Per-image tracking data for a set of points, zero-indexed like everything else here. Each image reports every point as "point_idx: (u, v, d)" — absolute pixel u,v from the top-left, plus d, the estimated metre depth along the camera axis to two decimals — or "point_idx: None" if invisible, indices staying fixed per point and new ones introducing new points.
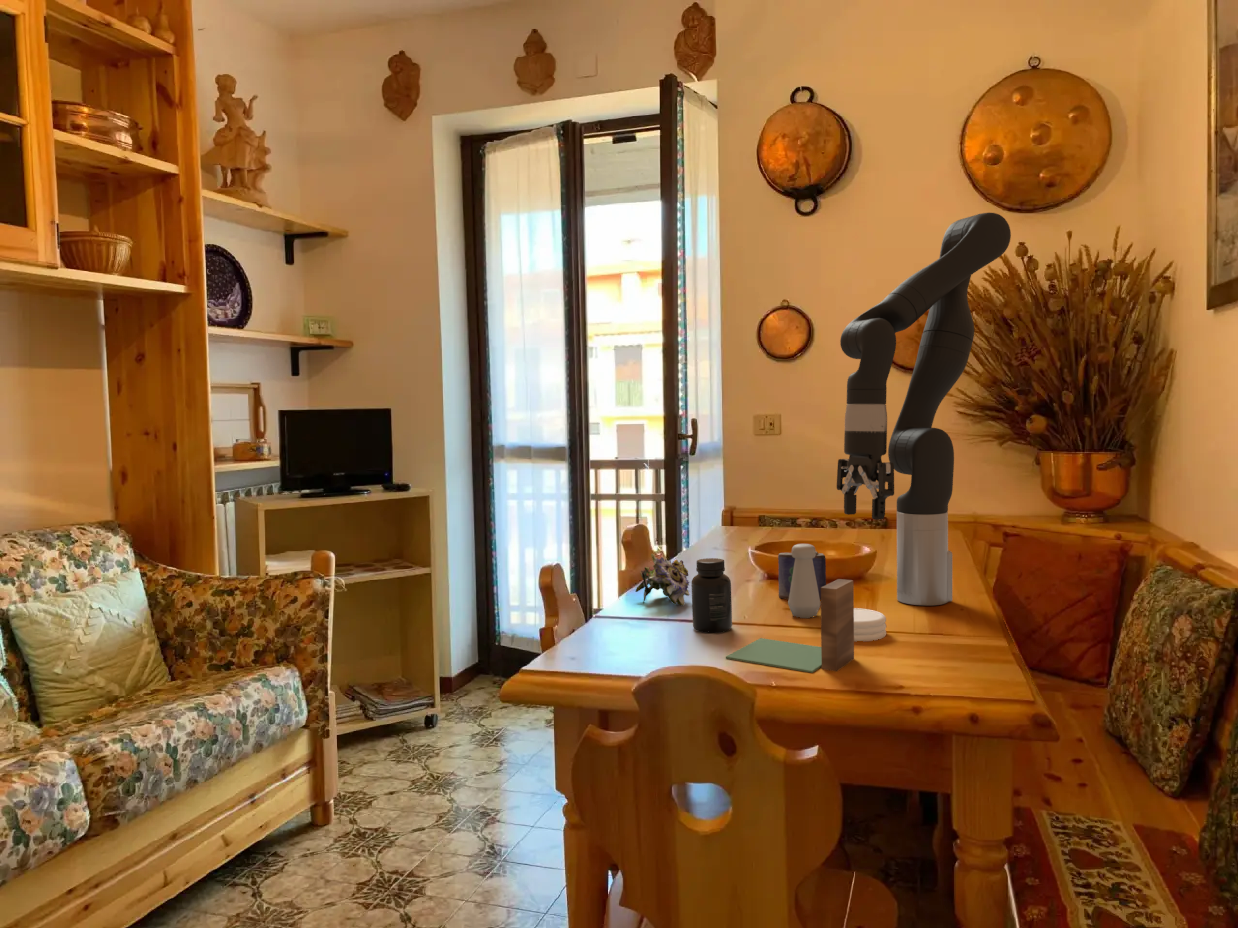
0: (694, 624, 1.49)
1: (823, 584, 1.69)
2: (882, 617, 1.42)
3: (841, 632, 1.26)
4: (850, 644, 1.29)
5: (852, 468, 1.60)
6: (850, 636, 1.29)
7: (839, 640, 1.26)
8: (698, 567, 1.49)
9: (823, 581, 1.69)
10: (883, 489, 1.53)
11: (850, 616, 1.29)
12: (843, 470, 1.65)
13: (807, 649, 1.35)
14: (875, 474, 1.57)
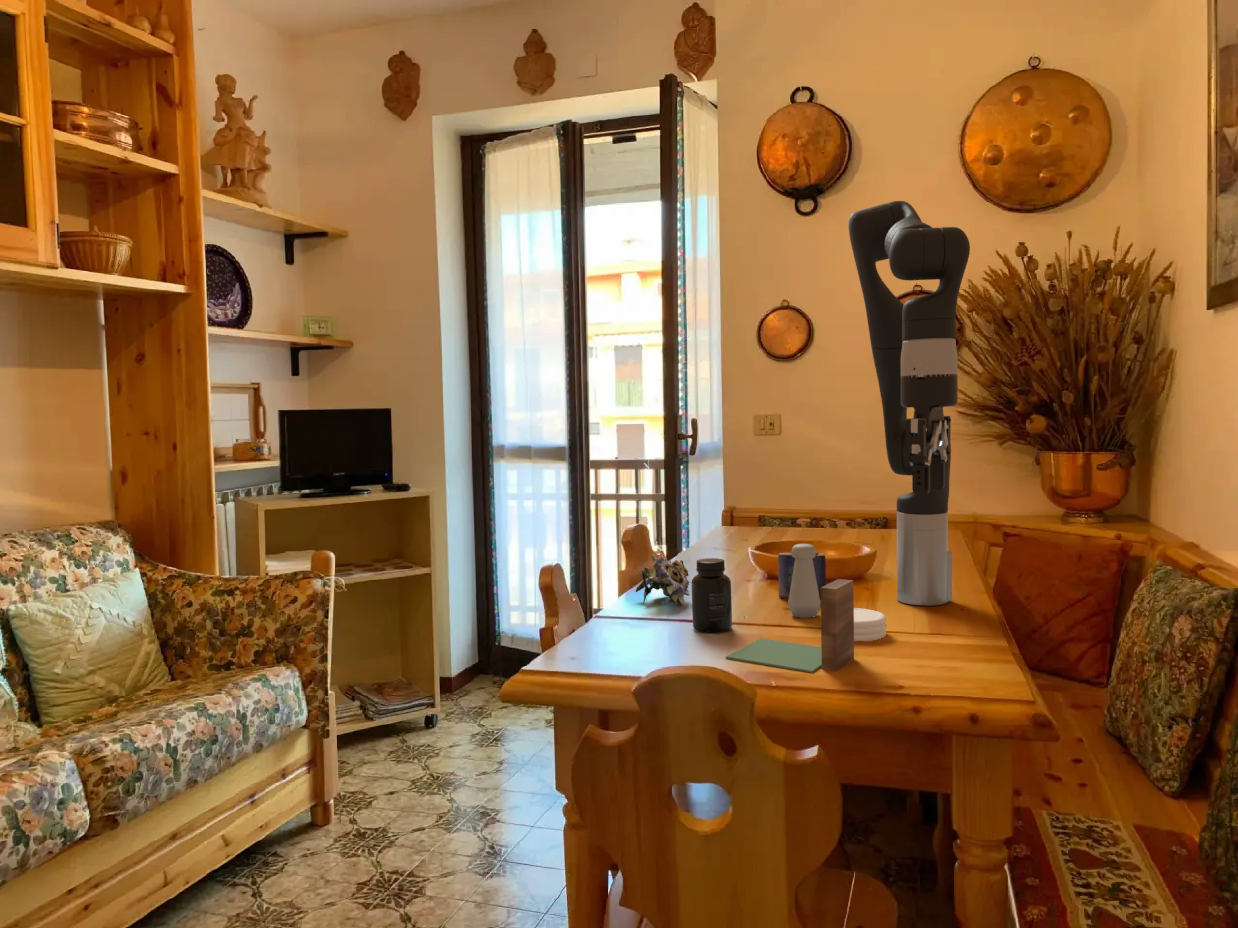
0: (694, 624, 1.49)
1: (823, 584, 1.69)
2: (882, 617, 1.42)
3: (841, 632, 1.26)
4: (850, 644, 1.29)
5: (940, 425, 1.20)
6: (850, 636, 1.29)
7: (839, 640, 1.26)
8: (698, 567, 1.49)
9: (823, 581, 1.69)
10: None
11: (850, 616, 1.29)
12: None
13: (807, 649, 1.35)
14: None
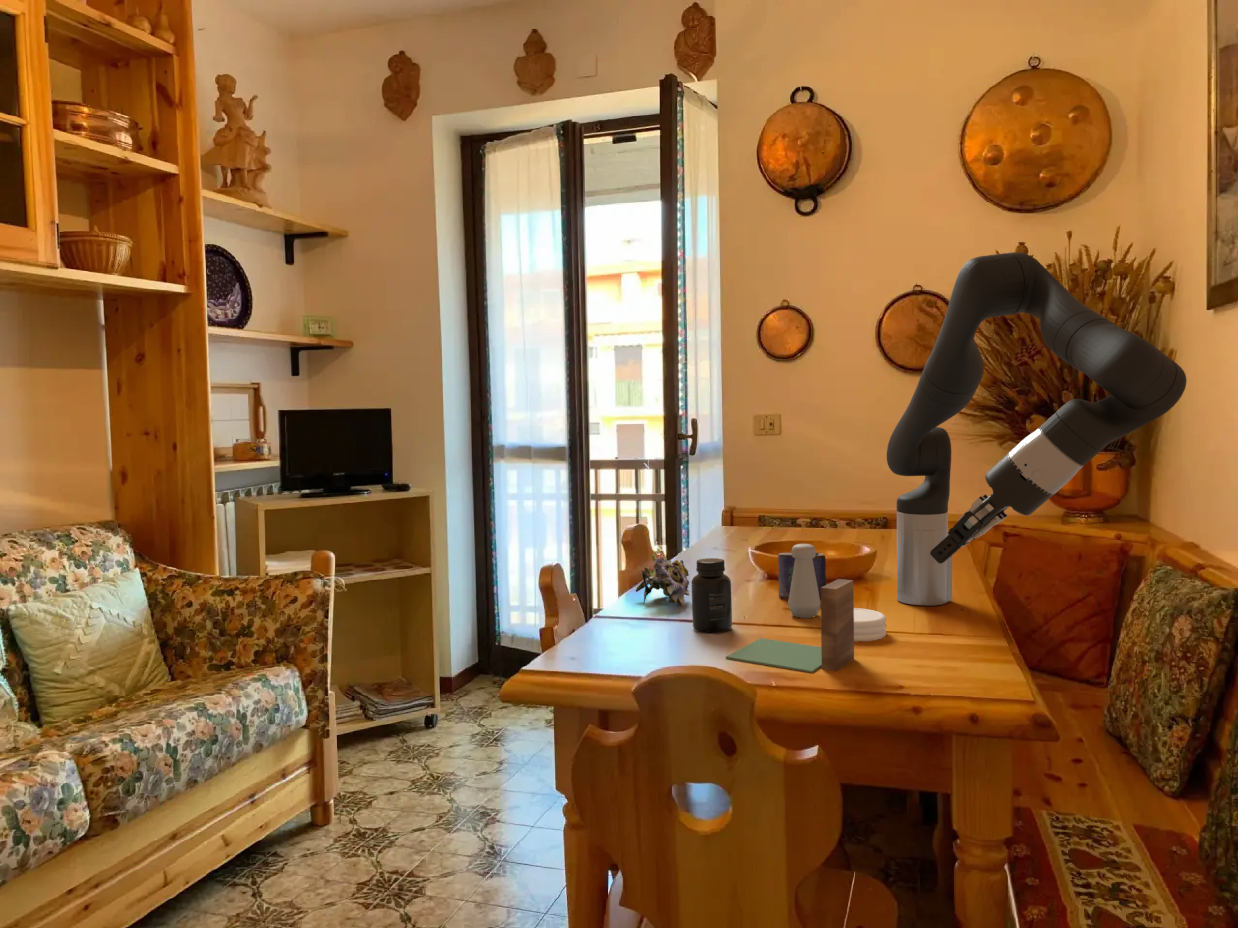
0: (694, 624, 1.49)
1: (823, 584, 1.69)
2: (882, 617, 1.42)
3: (841, 632, 1.26)
4: (850, 644, 1.29)
5: (1000, 520, 1.13)
6: (850, 636, 1.29)
7: (839, 640, 1.26)
8: (698, 567, 1.49)
9: (823, 581, 1.69)
10: None
11: (850, 616, 1.29)
12: None
13: (807, 649, 1.35)
14: None
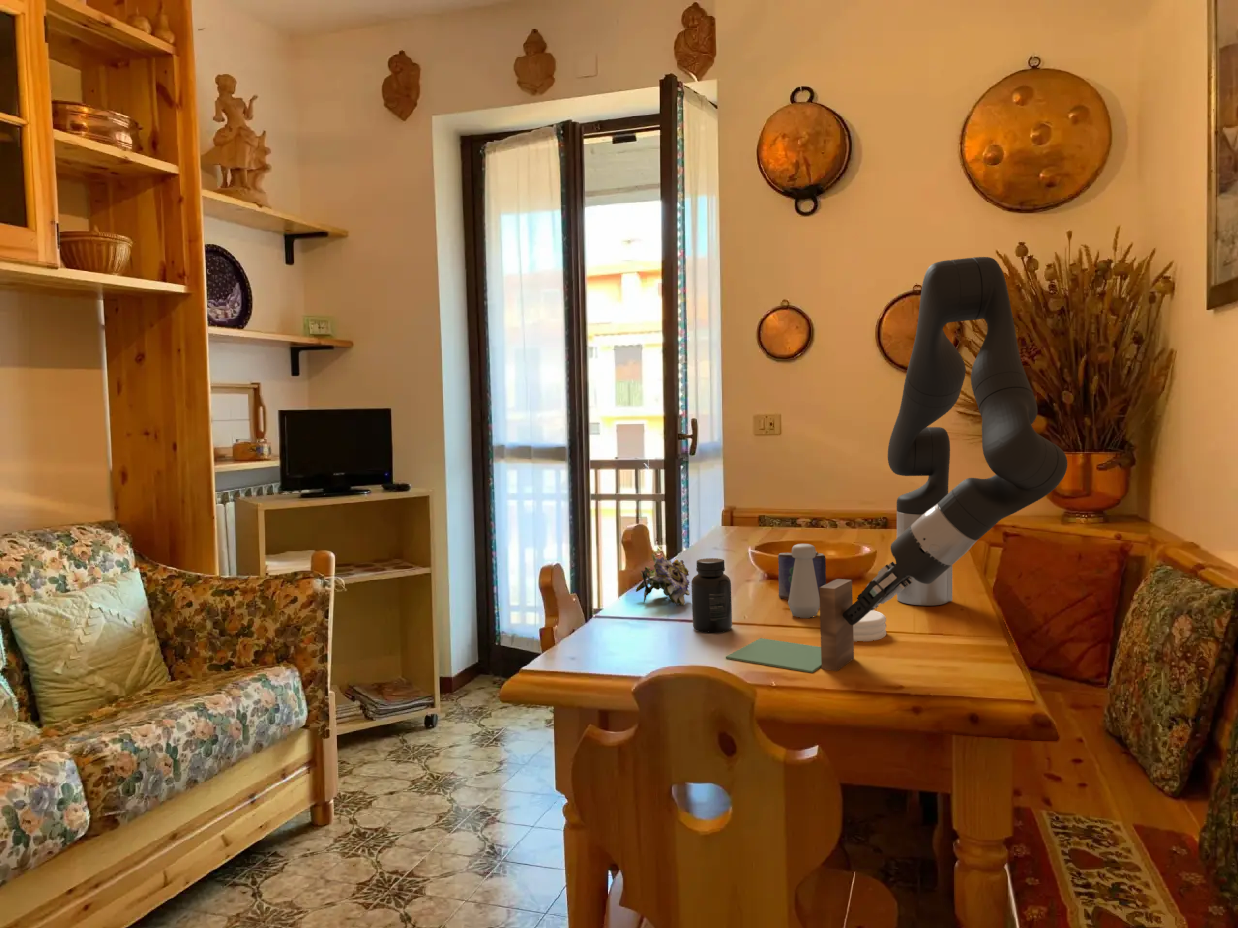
0: (694, 624, 1.49)
1: (823, 584, 1.69)
2: (882, 617, 1.42)
3: (840, 631, 1.26)
4: (849, 644, 1.29)
5: (904, 587, 1.21)
6: (850, 636, 1.29)
7: (839, 639, 1.26)
8: (698, 567, 1.49)
9: (823, 581, 1.69)
10: None
11: None
12: None
13: (807, 649, 1.35)
14: None
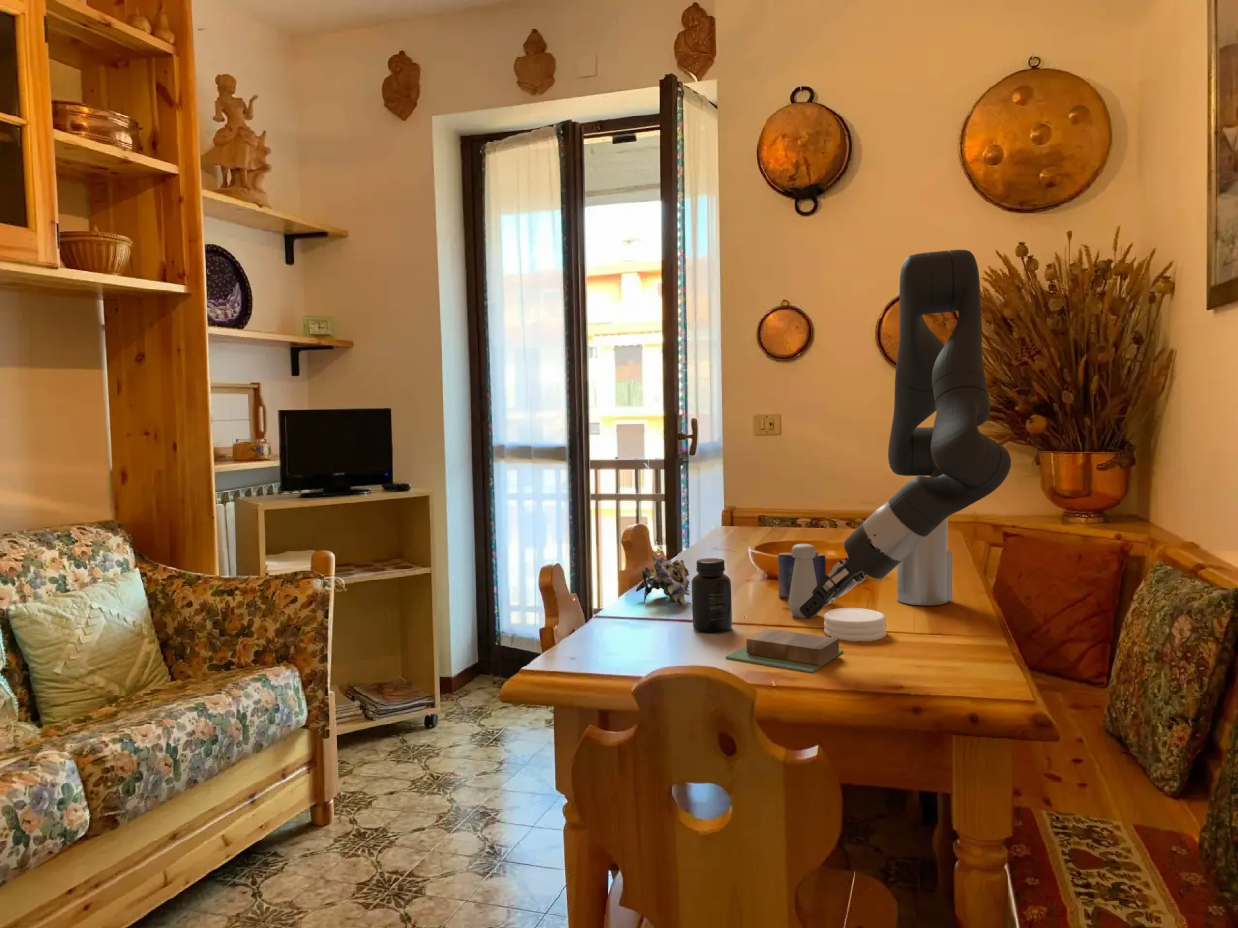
0: (694, 624, 1.49)
1: None
2: (882, 617, 1.42)
3: (792, 641, 1.31)
4: (818, 638, 1.32)
5: (857, 582, 1.25)
6: (811, 637, 1.33)
7: (796, 643, 1.30)
8: (698, 567, 1.49)
9: None
10: None
11: (793, 634, 1.35)
12: None
13: None
14: None
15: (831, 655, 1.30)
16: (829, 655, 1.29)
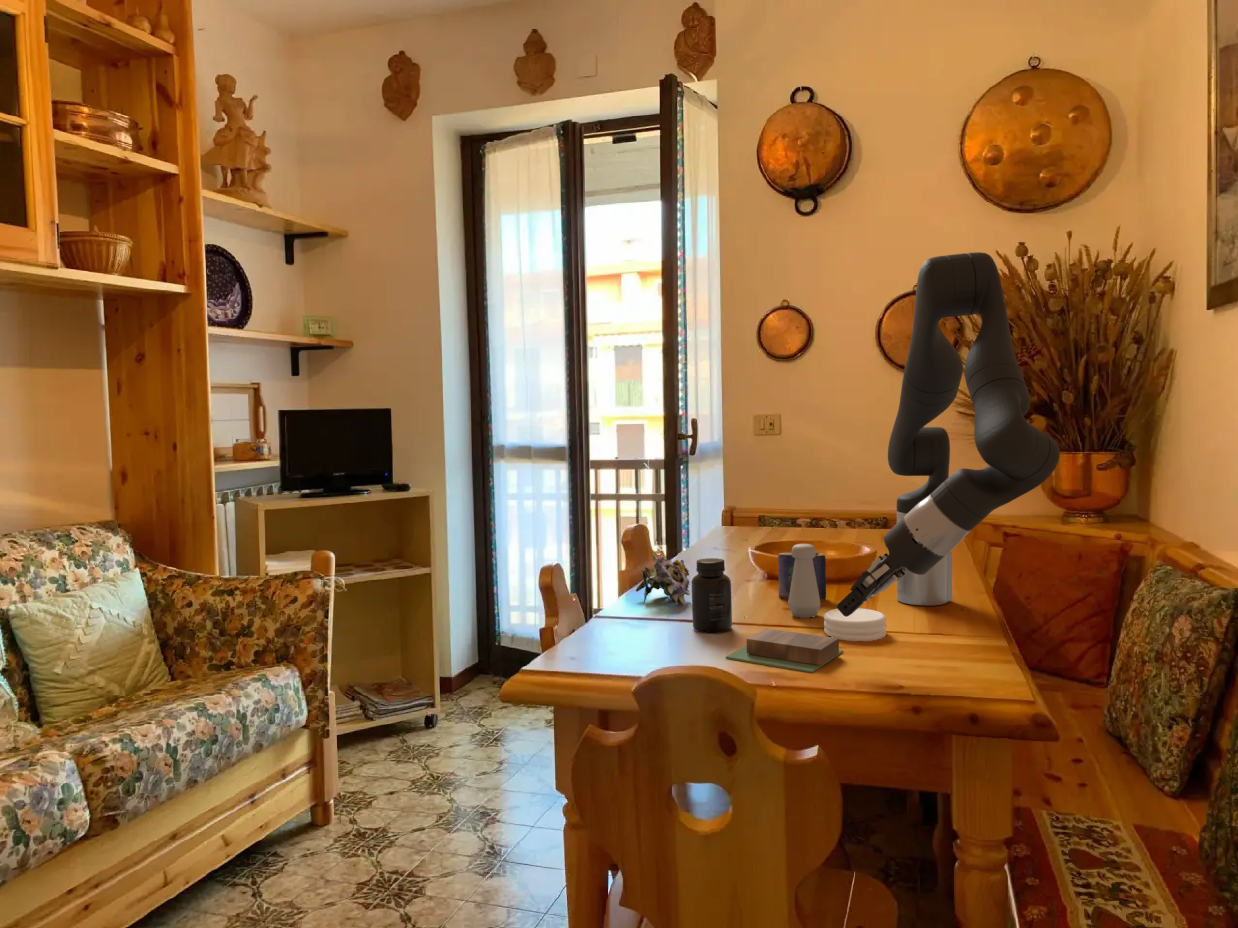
0: (694, 624, 1.49)
1: (823, 584, 1.69)
2: (882, 617, 1.42)
3: (792, 641, 1.31)
4: (818, 638, 1.32)
5: (898, 578, 1.21)
6: (811, 637, 1.33)
7: (796, 643, 1.30)
8: (698, 567, 1.49)
9: (823, 581, 1.69)
10: None
11: (793, 634, 1.35)
12: None
13: None
14: None
15: (831, 655, 1.30)
16: (829, 655, 1.29)
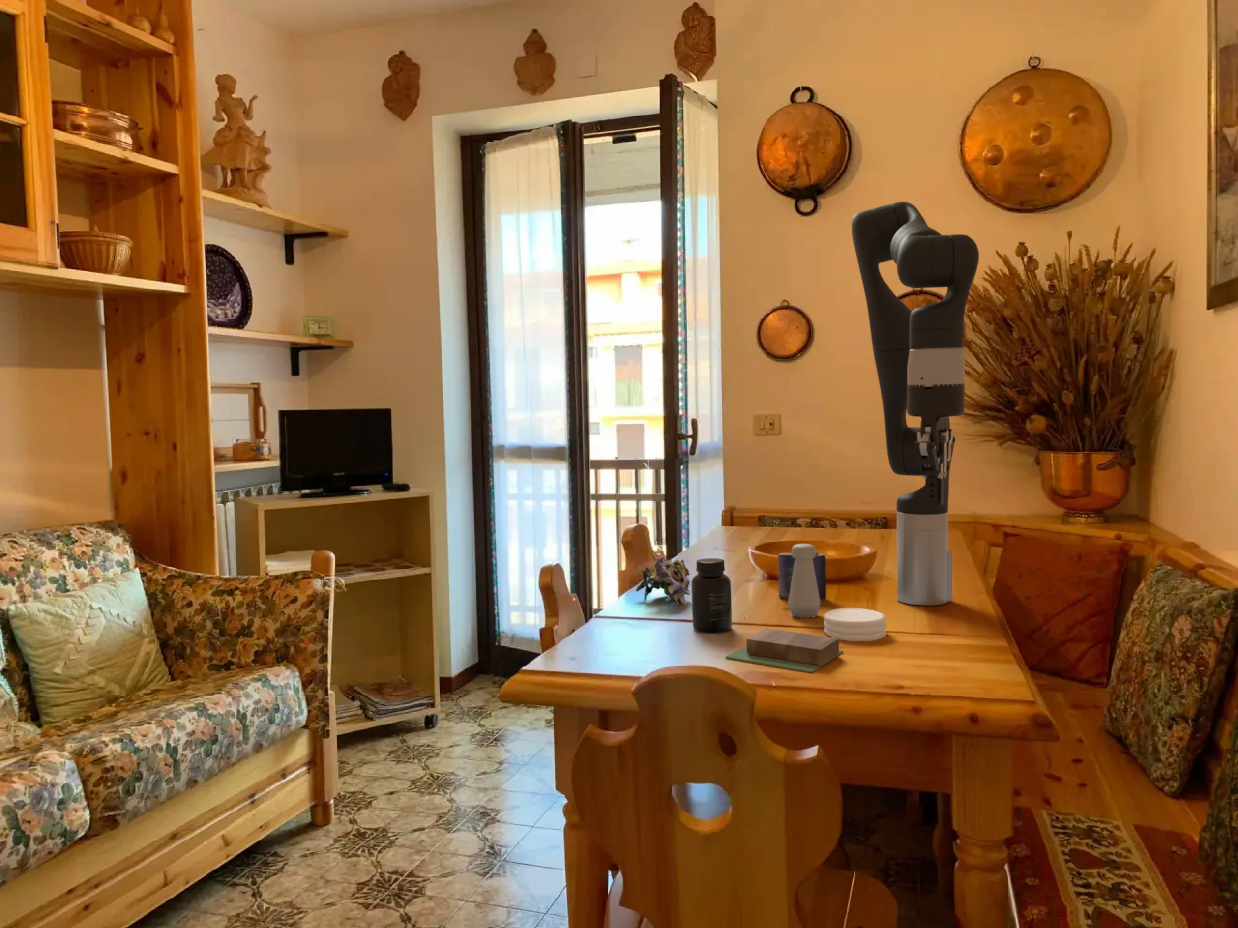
0: (694, 624, 1.49)
1: (823, 584, 1.69)
2: (882, 617, 1.42)
3: (792, 641, 1.31)
4: (818, 638, 1.32)
5: (947, 433, 1.20)
6: (811, 637, 1.33)
7: (796, 643, 1.30)
8: (698, 567, 1.49)
9: (823, 581, 1.69)
10: None
11: (793, 634, 1.35)
12: None
13: None
14: None
15: (831, 655, 1.30)
16: (829, 655, 1.29)
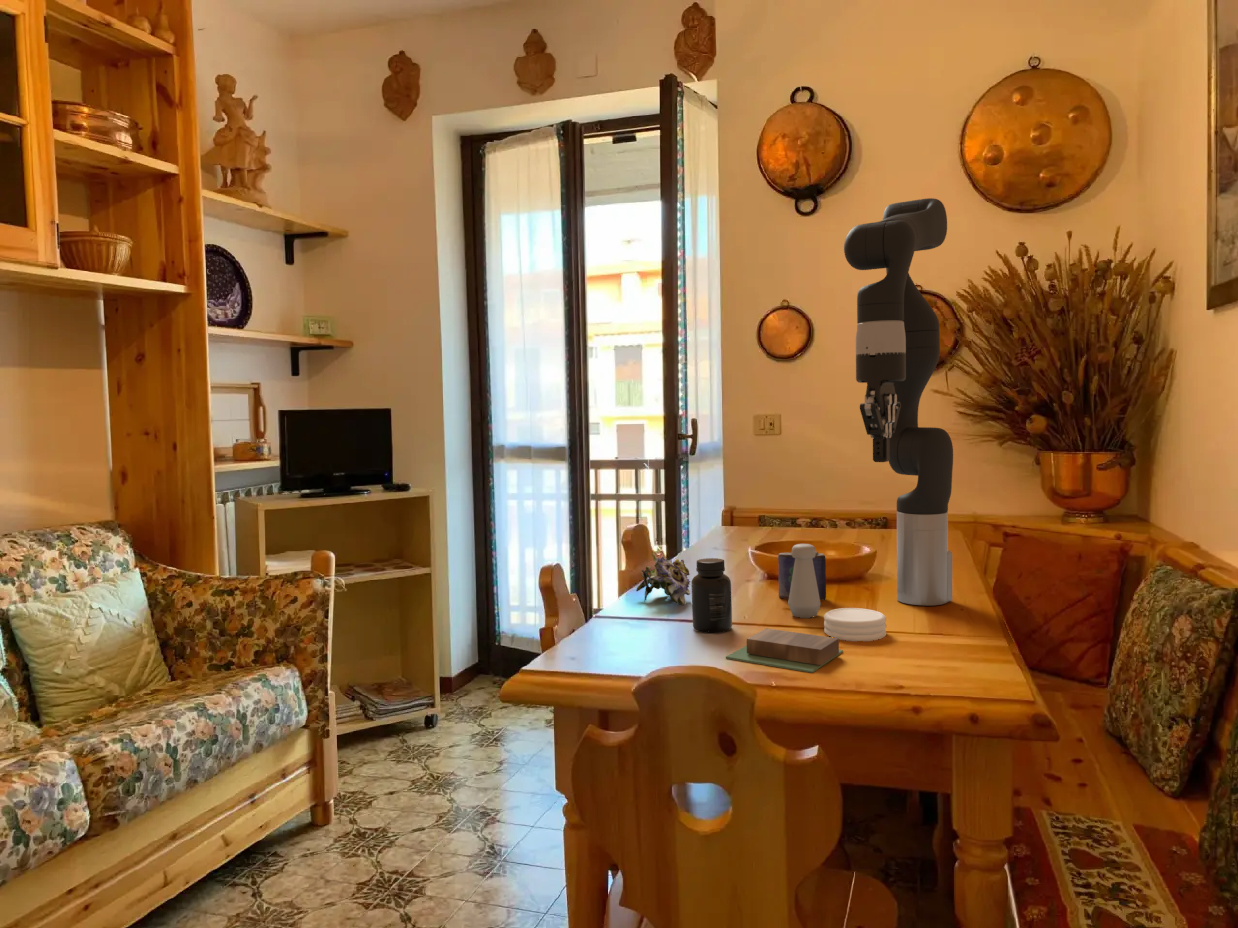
0: (694, 624, 1.49)
1: (823, 584, 1.69)
2: (882, 617, 1.42)
3: (792, 641, 1.31)
4: (818, 638, 1.32)
5: (890, 397, 1.35)
6: (811, 637, 1.33)
7: (796, 643, 1.30)
8: (698, 567, 1.49)
9: (823, 581, 1.69)
10: None
11: (793, 634, 1.35)
12: None
13: None
14: None
15: (831, 655, 1.30)
16: (829, 655, 1.29)
